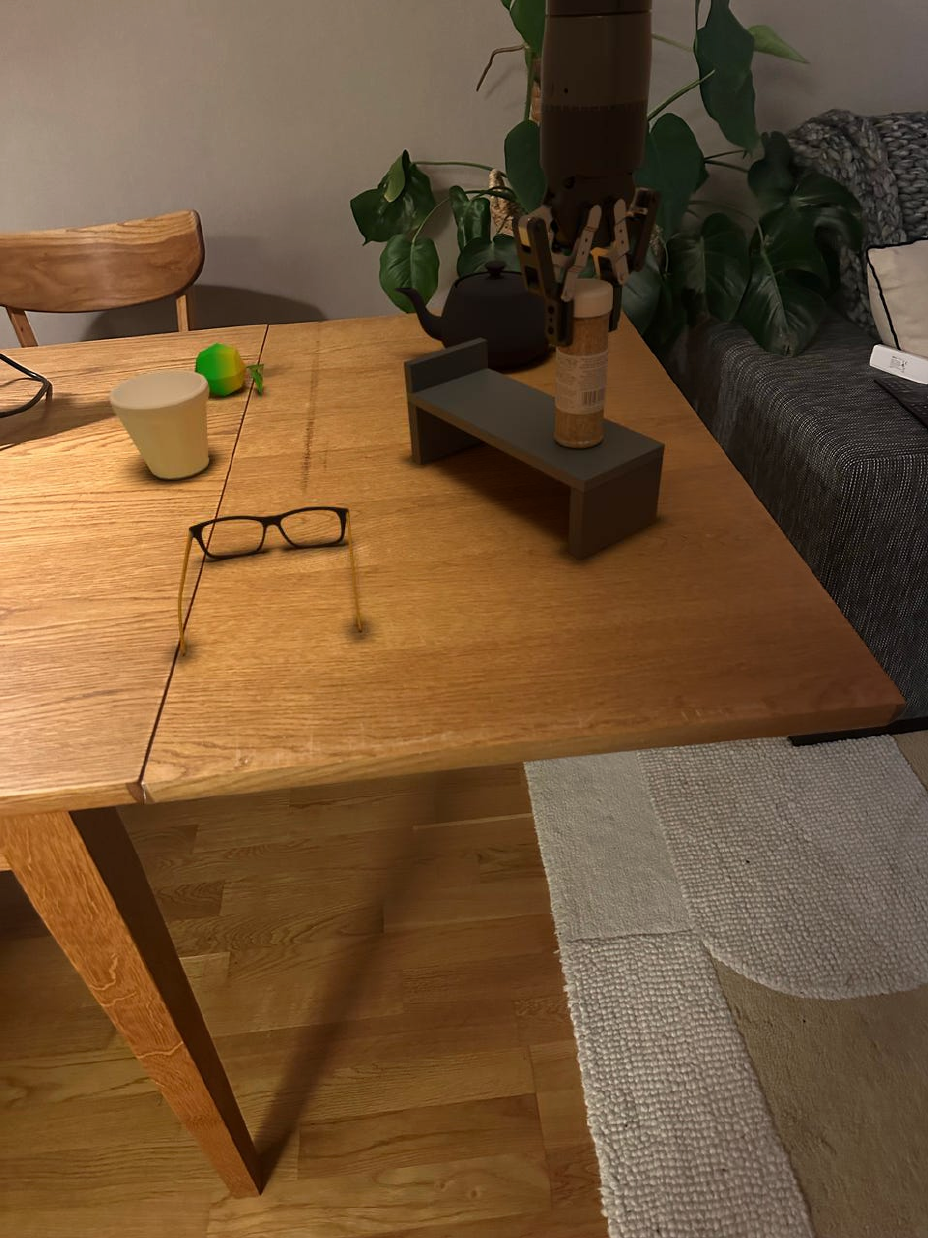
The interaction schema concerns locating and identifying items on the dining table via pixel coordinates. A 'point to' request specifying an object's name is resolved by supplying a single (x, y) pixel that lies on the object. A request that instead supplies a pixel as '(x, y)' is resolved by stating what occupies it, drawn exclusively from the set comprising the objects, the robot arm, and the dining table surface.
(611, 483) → the shelf
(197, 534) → the eyeglasses
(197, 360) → the apple
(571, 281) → the robot arm
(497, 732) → the dining table surface
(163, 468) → the cup
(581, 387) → the sprinkles bottle
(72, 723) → the dining table surface
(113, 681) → the dining table surface
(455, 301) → the teapot
